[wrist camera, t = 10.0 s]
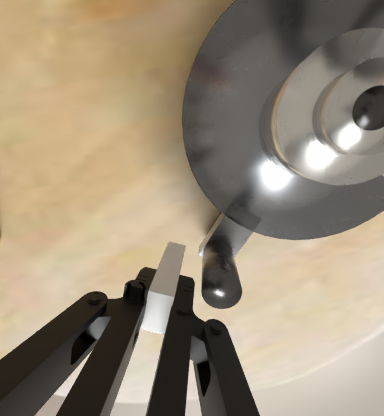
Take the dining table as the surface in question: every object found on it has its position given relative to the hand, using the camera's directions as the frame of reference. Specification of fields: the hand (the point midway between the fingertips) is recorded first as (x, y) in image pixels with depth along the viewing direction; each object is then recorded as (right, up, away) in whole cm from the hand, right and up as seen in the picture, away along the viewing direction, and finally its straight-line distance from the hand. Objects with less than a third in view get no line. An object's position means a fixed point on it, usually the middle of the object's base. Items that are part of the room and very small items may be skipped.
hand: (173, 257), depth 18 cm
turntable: (+10, +9, +1) cm, 14 cm away
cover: (+11, +11, -2) cm, 15 cm away
